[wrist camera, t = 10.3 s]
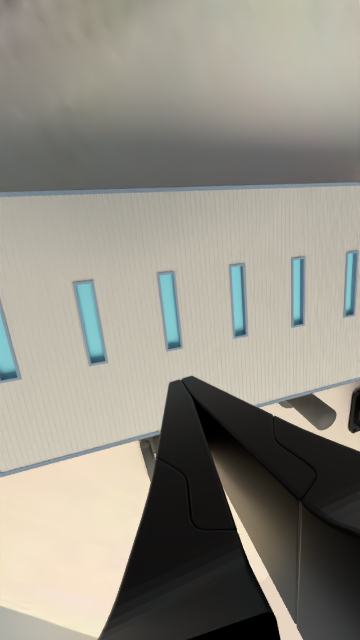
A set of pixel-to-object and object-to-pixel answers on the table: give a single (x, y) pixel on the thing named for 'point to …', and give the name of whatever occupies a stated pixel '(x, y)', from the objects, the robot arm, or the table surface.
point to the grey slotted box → (168, 306)
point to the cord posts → (305, 405)
